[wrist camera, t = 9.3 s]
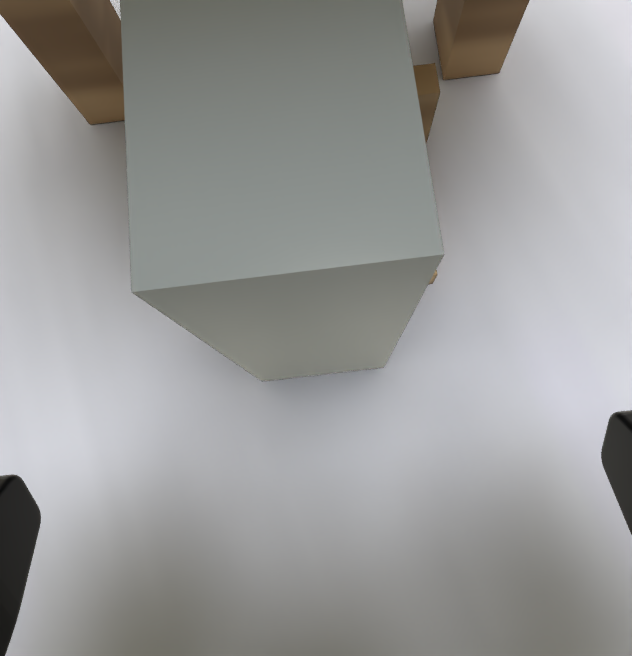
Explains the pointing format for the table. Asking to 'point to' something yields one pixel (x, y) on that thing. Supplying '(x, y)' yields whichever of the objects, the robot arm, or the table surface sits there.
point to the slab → (278, 178)
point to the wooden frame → (107, 68)
